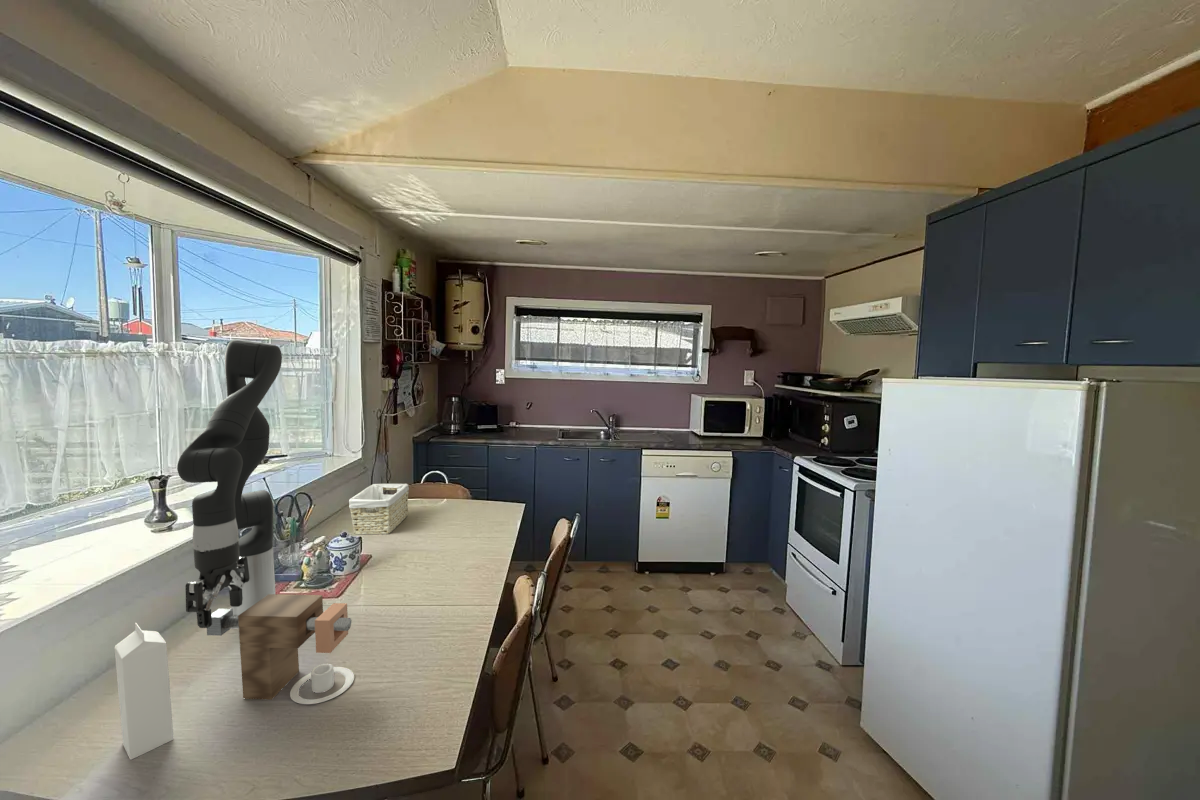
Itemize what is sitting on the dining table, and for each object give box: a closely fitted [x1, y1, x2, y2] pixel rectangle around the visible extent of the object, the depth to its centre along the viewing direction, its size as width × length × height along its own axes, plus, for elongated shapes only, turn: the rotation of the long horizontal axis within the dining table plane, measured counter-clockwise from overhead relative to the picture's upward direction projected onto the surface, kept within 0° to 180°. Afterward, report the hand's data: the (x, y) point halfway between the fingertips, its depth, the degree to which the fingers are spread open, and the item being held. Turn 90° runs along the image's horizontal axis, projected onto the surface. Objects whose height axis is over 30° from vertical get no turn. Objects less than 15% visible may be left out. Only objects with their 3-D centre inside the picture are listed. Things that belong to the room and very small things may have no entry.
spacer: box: [314, 602, 349, 654], centre depth 105 cm, size 3×7×7 cm, turn 179°
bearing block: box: [238, 593, 324, 701], centre depth 105 cm, size 12×9×18 cm
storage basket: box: [348, 483, 410, 535], centre depth 203 cm, size 24×16×15 cm
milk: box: [114, 622, 174, 761], centre depth 89 cm, size 6×6×22 cm
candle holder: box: [289, 663, 355, 705], centre depth 106 cm, size 12×12×4 cm
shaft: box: [206, 608, 352, 637], centre depth 105 cm, size 29×4×4 cm, turn 89°
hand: (221, 616), depth 105 cm, fingers open, 8 cm apart
